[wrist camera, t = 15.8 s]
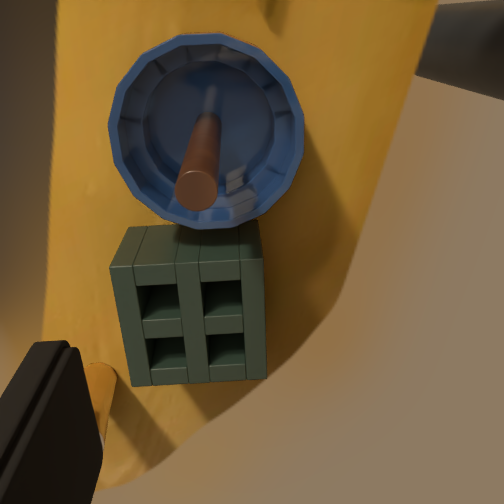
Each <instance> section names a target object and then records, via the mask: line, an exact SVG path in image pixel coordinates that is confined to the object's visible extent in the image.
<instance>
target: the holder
mask: <svg viewBox="0 0 504 504" xmlns="http://www.w3.org/2000/svg"><path fill="white" fill-rule="evenodd" d="M109 269H110V275H111V280H112V285H113V290H114V296H115V301H116V306H117V311H118V317H119V322H120V327H121V332H122V338H123V343H124V348H125V353H126V359H127V364H128V369H129V374H130V380H131V385H132V387H140V386H152V385H153V386H157V385H173V384H188V383H190V384H193V383H209V382H223V381H239V380H246V379H247V380H256V379H267V354H266V321H265V289H264V259H263V252H262V245H261V239H260V232H259V226H258V221H257V220H253V221H247V222H245V223H242V224H240V225H238V226H236V227H232V228H220V229H201V230H198V229H193V228H190V227H187V226H184V225H181V224H175V225H156V226H141V227H128V229H127V231H126V233H125V236H124V238H123V240H122V242H121V244H120V246H119V248H118V250H117V252H116V254H115V256H114V258H113V260H112V262H111V265H110V267H109Z"/></svg>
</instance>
